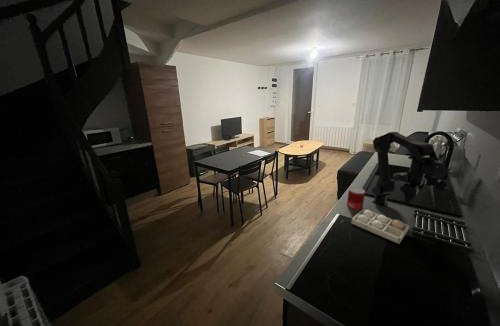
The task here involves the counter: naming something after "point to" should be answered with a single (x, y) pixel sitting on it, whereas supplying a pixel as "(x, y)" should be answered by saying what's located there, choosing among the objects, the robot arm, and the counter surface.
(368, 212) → the white egg
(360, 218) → the white egg
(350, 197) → the canned food
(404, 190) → the robot arm
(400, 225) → the brown egg
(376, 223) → the white egg
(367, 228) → the egg tray
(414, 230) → the counter surface
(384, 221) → the white egg
